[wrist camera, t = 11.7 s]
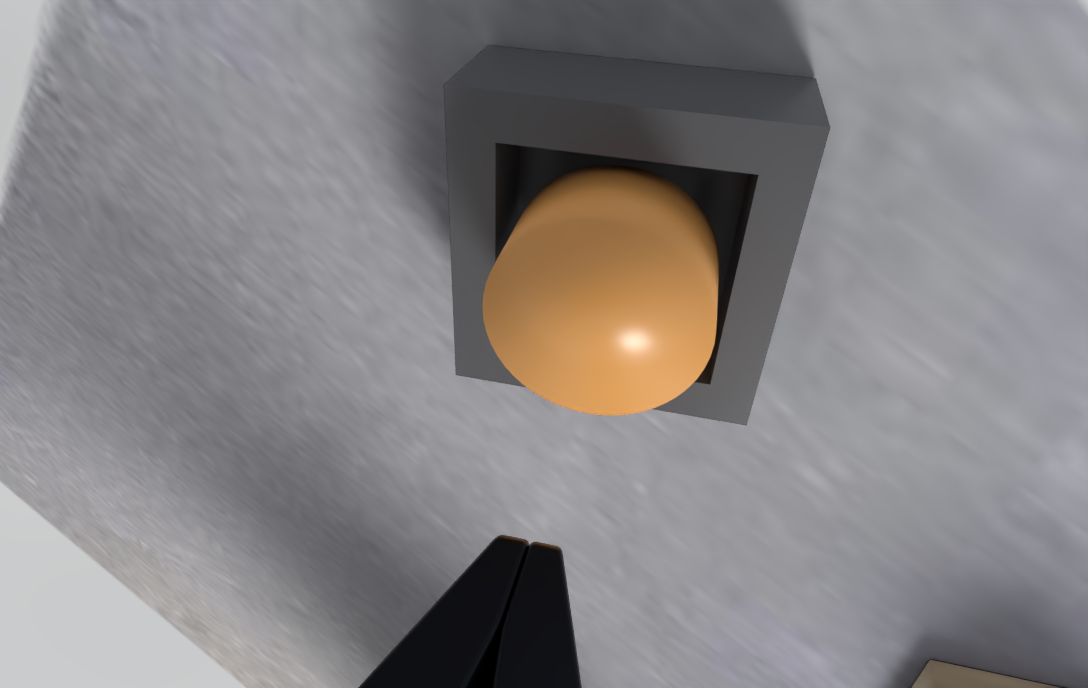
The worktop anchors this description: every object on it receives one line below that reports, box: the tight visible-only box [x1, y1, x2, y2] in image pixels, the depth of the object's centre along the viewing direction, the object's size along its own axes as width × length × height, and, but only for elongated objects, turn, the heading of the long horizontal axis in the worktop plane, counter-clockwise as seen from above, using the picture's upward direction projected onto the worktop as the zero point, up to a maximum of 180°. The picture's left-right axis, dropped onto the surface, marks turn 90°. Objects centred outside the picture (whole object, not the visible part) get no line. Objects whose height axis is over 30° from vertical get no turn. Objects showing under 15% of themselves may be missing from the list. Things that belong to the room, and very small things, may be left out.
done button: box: [482, 165, 719, 415], centre depth 14 cm, size 4×4×2 cm
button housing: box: [444, 45, 830, 425], centre depth 16 cm, size 7×7×3 cm
